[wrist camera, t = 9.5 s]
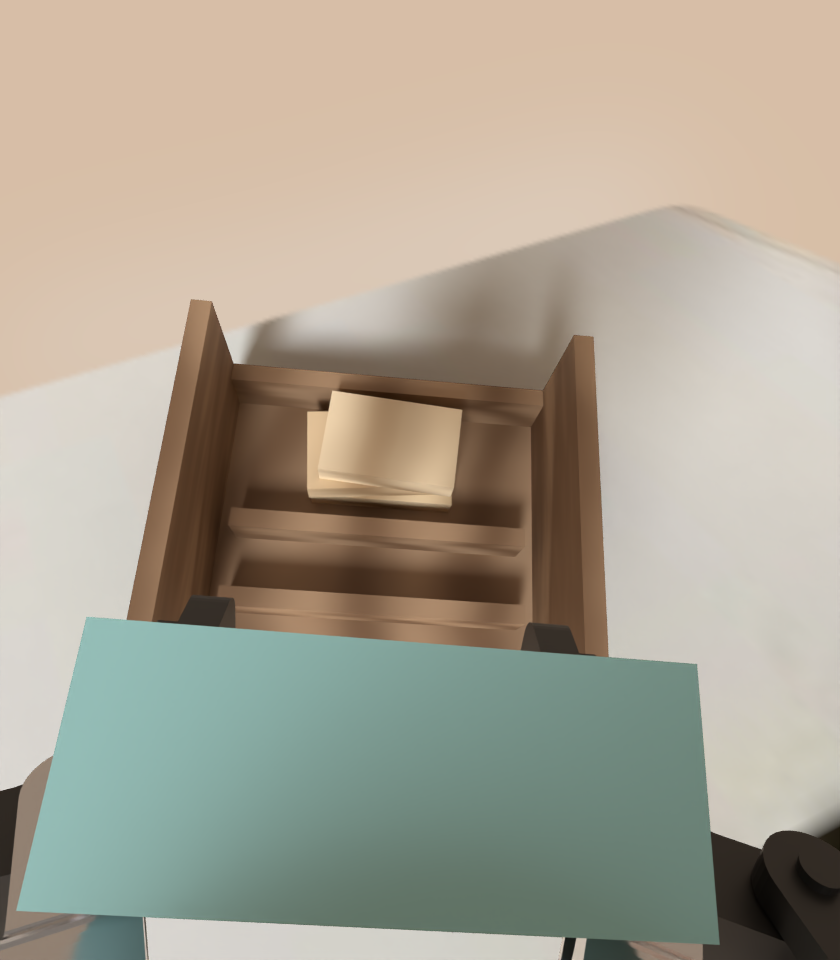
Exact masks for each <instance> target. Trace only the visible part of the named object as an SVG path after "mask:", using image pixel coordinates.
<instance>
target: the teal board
mask: <svg viewBox="0 0 840 960" xmlns="http://www.w3.org/2000/svg"><path fill="white" fill-rule="evenodd" d="M16 911H29V912H50V913H71V914H91V915H112V916H133V917H153V918H174V919H195V920H216V921H236V922H257V923H278V924H298V925H319V926H340V927H361V928H381V929H402V930H423V931H443V932H464V933H485V934H506V935H526V936H547V937H568V938H588V939H609V940H630V941H651V942H671V943H692V944H713V945H720V943H719V930H718V918H717V906H716V893H715V881H714V869H713V856H712V844H711V831H710V819H709V807H708V794H707V782H706V770H705V757H704V745H703V733H702V720H701V708H700V696H699V683H698V671H697V664H689V663H676V662H663V661H650V660H637V659H624V658H611V657H598V656H585V655H572V654H559V653H547V652H534V651H521V650H508V649H495V648H482V647H469V646H456V645H443V644H430V643H418V642H405V641H392V640H379V639H366V638H353V637H340V636H327V635H314V634H301V633H289V632H276V631H263V630H250V629H237V628H224V627H211V626H198V625H185V624H172V623H160V622H147V621H134V620H121V619H108V618H95V617H87V618H86V622H85V626H84V630H83V634H82V639H81V643H80V647H79V651H78V655H77V659H76V664H75V668H74V672H73V676H72V680H71V684H70V689H69V693H68V697H67V701H66V705H65V709H64V714H63V718H62V722H61V726H60V730H59V734H58V739H57V743H56V747H55V751H54V755H53V759H52V764H51V768H50V772H49V776H48V780H47V784H46V789H45V793H44V797H43V801H42V805H41V809H40V814H39V818H38V822H37V826H36V830H35V834H34V839H33V843H32V847H31V851H30V855H29V859H28V864H27V868H26V872H25V876H24V880H23V884H22V889H21V893H20V897H19V901H18V905H17V909H16Z"/></svg>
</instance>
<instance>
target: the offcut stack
mask: <svg viewBox="0 0 840 960" xmlns="http://www.w3.org/2000/svg"><path fill="white" fill-rule="evenodd" d="M461 418H462V410H460V409H453V408H446V407H440V406H433V405H426V404H419V403H413V402H406V401H399V400H392V399H386V398H379V397H372V396H365V395H359V394H352V393H345V392H339V391H332V395H331V400H330V406H329V411H320V412H307V490H308V495H309V498H311V501H312V503H325V504H338V505H352V506H365V507H379V508H392V509H406V510H419V511H433V512H446V513H448V512H449V510H450V507H451V505H452V491H453V489H454V483H455V474H456V465H457V455H458V446H459V437H460V428H461Z"/></svg>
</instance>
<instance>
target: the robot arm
mask: <svg viewBox="0 0 840 960" xmlns="http://www.w3.org/2000/svg"><path fill="white" fill-rule="evenodd" d="M157 622H160V623H172V624H185V625H198V626H211V627H224V628H235V600H234V598H228V597H216V596H203V595H192V596H191V597H190V599H189V600H188V602H187V604H186V606H185V608H184V610H183V612H182V614H181V616H180V618H179V620H178V621H165V620H158V621H157ZM521 651H534V652H547V653H559V654H572V655H585V656H596V655H595V654H582V653H579V651H578V648H577V646H576V643H575V640H574V638H573V635H572V632H571V630H570V628H569V626H567V625H556V624H544V623H531V622H529V623H528V624H527V626H526V629H525V632H524V636H523V641H522V646H521ZM52 759H53V756H52V757H50V758H48V759H47V760H45V761H44V762H42V763H41V764H40V765H39V766H38V767H37V768H35V769H34V770H33V772H32V773H31V774H30V775H29V776H28V777H27V779H26V780H25V782H24V784H23V785H20V786H17V787H14V788H11V789H7V790H3V791H0V960H149V956H148V942H147V929H146V917H133V916H112V915H91V914H71V913H50V912H29V911H16V909H17V905H18V901H19V897H20V893H21V889H22V884H23V880H24V876H25V872H26V868H27V864H28V859H29V855H30V851H31V847H32V843H33V839H34V834H35V830H36V826H37V822H38V818H39V814H40V809H41V805H42V801H43V797H44V793H45V789H46V784H47V780H48V776H49V772H50V768H51V764H52ZM711 844H712V856H713V869H714V881H715V893H716V906H717V918H718V930H719V943H720V945H713V944H692V943H671V942H651V941H630V940H609V939H588V938H568V937H562V942H561V947H560V952H559V958H558V960H840V851H838V850H837V849H836V848H834V847H833V846H831V845H829V844H828V843H826V842H824V841H822V840H820V839H818V838H816V837H814V836H811V835H809V834H806V833H802V832H797V831H780V832H776V833H774V834H772V835H771V836H770V837H769V838H768V839H767V840H766V842H765V844H764V846H763V848H762V850H761V849H758V848H756V847H753V846H750V845H747V844H744V843H741V842H738V841H735V840H732V839H729V838H726V837H724V836H721V835H718V834H715V833H713V832H711Z"/></svg>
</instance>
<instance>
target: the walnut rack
mask: <svg viewBox="0 0 840 960" xmlns="http://www.w3.org/2000/svg"><path fill="white" fill-rule="evenodd" d="M332 391H339V392H345V393H352V394H359V395H365V396H372V397H379V398H386V399H392V400H399V401H406V402H413V403H419V404H426V405H433V406H440V407H446V408H453V409H460V410H462V418H461V428H460V437H459V446H458V455H457V465H456V474H455V483H454V489H453V491H452V505H451V507H450V510H449V512H448V513H446V512H433V511H419V510H406V509H392V508H379V507H365V506H352V505H338V504H325V503H312V501H311V498H309V495H308V490H307V412H320V411H329V406H330V400H331V395H332ZM192 595H203V596H216V597H228V598H234V600H235V628H237V629H250V630H263V631H276V632H289V633H301V634H314V635H327V636H340V637H353V638H366V639H379V640H392V641H405V642H418V643H430V644H443V645H456V646H469V647H482V648H495V649H508V650H521V646H522V641H523V636H524V632H525V629H526V626H527V624H528V623H529V622H531V623H544V624H556V625H567V626H569V628H570V630H571V632H572V635H573V638H574V640H575V643H576V646H577V648H578V651H579V653H582V654H595V655H596V656H598V657H609V656H608V635H607V614H606V592H605V571H604V550H603V529H602V507H601V486H600V465H599V444H598V422H597V401H596V380H595V359H594V337H590V336H579V335H574V336H573V338H572V340H571V341H570V343H569V345H568V347H567V349H566V350H565V352H564V354H563V356H562V358H561V359H560V361H559V363H558V365H557V366H556V368H555V370H554V372H553V374H552V375H551V377H550V379H549V381H548V383H547V384H546V386H545V388H544V390H543V391H542V390H531V389H520V388H508V387H497V386H485V385H474V384H462V383H451V382H439V381H428V380H416V379H405V378H393V377H382V376H370V375H359V374H347V373H336V372H324V371H313V370H301V369H290V368H278V367H267V366H255V365H244V364H233V361H232V358H231V355H230V352H229V349H228V346H227V343H226V341H225V338H224V335H223V332H222V329H221V326H220V323H219V321H218V318H217V315H216V312H215V309H214V306H213V303H212V302H211V301H202V300H191V302H190V307H189V312H188V317H187V322H186V327H185V332H184V336H183V341H182V346H181V351H180V356H179V361H178V366H177V371H176V376H175V381H174V386H173V391H172V396H171V401H170V406H169V411H168V416H167V421H166V426H165V431H164V436H163V441H162V446H161V451H160V456H159V461H158V466H157V471H156V476H155V481H154V486H153V491H152V496H151V501H150V506H149V511H148V516H147V521H146V526H145V531H144V536H143V541H142V546H141V551H140V556H139V561H138V566H137V571H136V575H135V580H134V585H133V590H132V595H131V600H130V605H129V610H128V615H127V620H134V621H147V622H157V621H158V620H165V621H178V620H179V618H180V616H181V614H182V612H183V610H184V608H185V606H186V604H187V602H188V600H189V599H190V597H191V596H192Z"/></svg>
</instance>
